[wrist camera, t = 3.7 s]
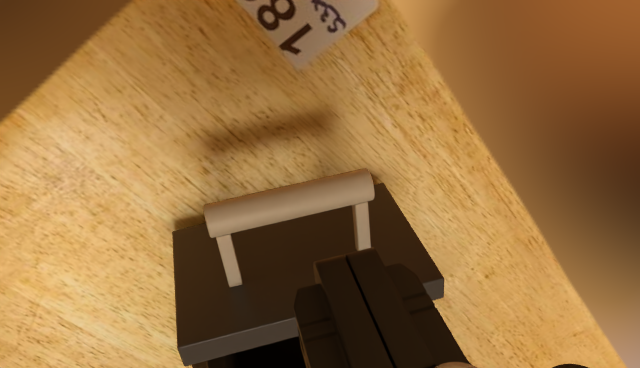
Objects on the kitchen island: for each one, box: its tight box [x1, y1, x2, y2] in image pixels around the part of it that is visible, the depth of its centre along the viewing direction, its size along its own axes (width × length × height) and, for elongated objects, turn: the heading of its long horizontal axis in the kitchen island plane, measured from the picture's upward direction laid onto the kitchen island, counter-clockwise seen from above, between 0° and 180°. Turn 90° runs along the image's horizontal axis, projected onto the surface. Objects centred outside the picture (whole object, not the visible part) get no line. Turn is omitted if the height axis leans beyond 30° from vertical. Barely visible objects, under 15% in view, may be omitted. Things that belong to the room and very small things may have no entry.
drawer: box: [172, 168, 444, 368], centre depth 29 cm, size 18×11×8 cm, turn 6°
